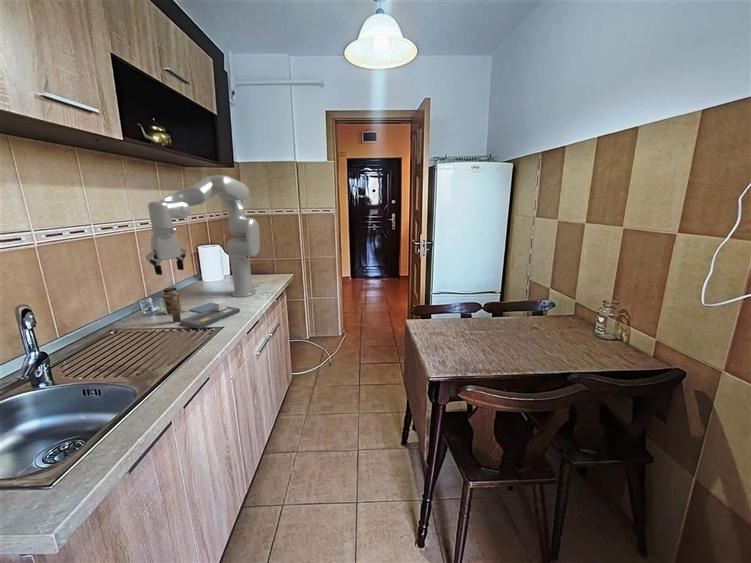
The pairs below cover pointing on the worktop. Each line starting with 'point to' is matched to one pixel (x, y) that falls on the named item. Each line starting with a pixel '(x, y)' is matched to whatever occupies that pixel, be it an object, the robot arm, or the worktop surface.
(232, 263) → the robot arm
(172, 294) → the dowel
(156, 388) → the worktop surface
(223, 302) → the white cube
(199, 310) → the tool mat
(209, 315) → the switch board
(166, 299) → the condiment
